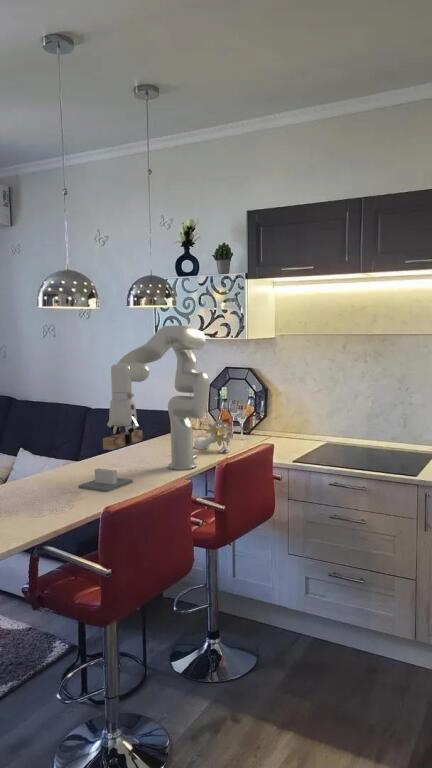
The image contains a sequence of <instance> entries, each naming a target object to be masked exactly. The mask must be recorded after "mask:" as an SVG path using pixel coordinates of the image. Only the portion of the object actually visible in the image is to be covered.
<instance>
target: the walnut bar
mask: <svg viewBox="0 0 432 768" xmlns="http://www.w3.org/2000/svg"><path fill="white" fill-rule="evenodd" d="M125 435H126V431H125V432H121V434H117V435H115V434H114V435H111V436H107V437H103V438H102V448H103V450H109V451H114V450H117V449H119V448H122V447H126V446H129V445H132V444H134V443H135V444H136V443H139V442H141V441H143V439H144V438H143V430H142V429H135V430H134V431H133V433H132V434H131V435H132V442H131V444H128V445H126V444H125Z"/></svg>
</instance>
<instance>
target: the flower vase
mask: <svg viewBox="0 0 432 768" xmlns="http://www.w3.org/2000/svg"><path fill="white" fill-rule="evenodd" d="M214 420H215V422H214V423H213V424H212V423H209V422H208V425H207V426H208V428H209V429H207V430H206V432H205V434H210V436H209V437H207V438H206V437H204V436H203V437H202V436H199V437H197V438H196V439H195V440H194V443H193V449H195V448H208V449H210V448H209V447H212V444H215V443H217V445H218V446H219V447H220V446H222V444H223V446H222V447H221V448H220V449H219V450H218V451H217V453H221V452H227V451H233V449H232V448H229V447H228V446H230V442H231V439H232V438H233V436H234V435H233V432H232V429H233V426H232V425H229V422H225V421H224V420H223V419H222V418H219V419H218V418H216V417H214ZM225 425H226V426H225ZM225 443H226V446H225Z"/></svg>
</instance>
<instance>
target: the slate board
mask: <svg viewBox="0 0 432 768" xmlns="http://www.w3.org/2000/svg"><path fill="white" fill-rule="evenodd" d="M117 472H118V471H117V470H115V469H107V468H96V469H94V479H92V480H90V481H86V482H84V483H81V484H78V489H84V490H89V491H90V490H91V491H97V492H104V493H109V492H110V491H114V490H115V489H119V488H121V487H124V486H127V485H129V484H132V483H133V481H134V480H133V479H129V478H123V477H118V475H117V474H118V473H117Z"/></svg>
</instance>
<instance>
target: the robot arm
mask: <svg viewBox="0 0 432 768" xmlns="http://www.w3.org/2000/svg"><path fill="white" fill-rule="evenodd" d="M206 342H207V338H206V336H205V333H204V332H203V331H201V330H200V329H195V328H193V327H189V326H186V325H183V324H182V325H181V324H179V325H164V326H162V327H160V328H159V329H158V330H157V331H156V332H155V333H154V335H152V337H150V339H149V340H148V341H147V342H146V343H144V344H142V345H140V346H138V347H137V348H134V349H133V350H131V351H129V352H127V353H126V354H125V355H124V356H122V357H121V359H120V360H118V362H117V363H116V364H113V365H111V367H110V378H111V379H110V380H111V381H110V383H111V384H110V385H111V400H110V402H109V403H110V404H109V410H108V411H109V414H108V415H109V420H108V422H107V424H106V425H107V427H109V428H110V429H111V431H112V433H113V434H114V435H117V434H121V433H122V432H121V427H124V428H125V432H126V435H125V444H126V446H129V445H132V444H131V442H132V435H131V434H132V433H133V431H134V430H137V429H138V428H139V426H140V425H139V424H138V418H137V417H138V416H137V409H136V403H135V399H133V398H134V397H135V395H134V393H132V391H133V390H132V382H133V383H140V382H145V381H146V380H147V379H148V378H149V375H150V369H149V367H148V364H150V363H154V362H156V361H159V360H161V359H162V357H164V355H165V354H166V353H167V352H168V351H169V350H170V348H172V350H173V351H174V354H175V357H176V368H175V369H176V370H175V375H174V376H175V377H174V388H175V390H176V391H177V392H178V393H185V394H193V396H191V395H190V396H189V395H175V396H172V397H171V398H169V400H168V404H167V411H168V415H169V420H170V447H171V448H170V449H171V451H170V453H171V454H170V455H171V462H170V463H168V464H167V466H168V469H171V470H176V471H186V470H192V468H193V469H196V468H197V463H196V462H194V461H195V460H197V459H198V454H194V443H193V441H194V440H193V436H194V434H193V430H194V429H193V424H192V422H191V420H190V419H197V420H199V419H203V418H204V417H205V415H206V414H207V408H208V404H209V403H208V402H209V395H210V394H209V393H210V387H211V386H210V384H211V382H210V378H209V376H208V375H207V373H205V372H203V371H196V370H197V359H196V356H195V354H194V352H193V351H199V350H202V349H203V348H204V347H205V345H206ZM146 364H147V365H146ZM128 444H129V445H128ZM195 467H196V468H195Z"/></svg>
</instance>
